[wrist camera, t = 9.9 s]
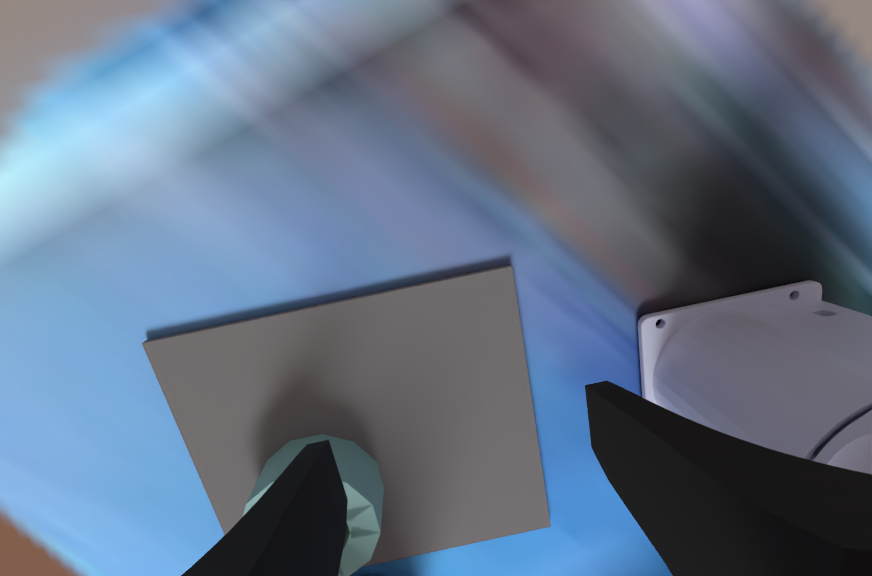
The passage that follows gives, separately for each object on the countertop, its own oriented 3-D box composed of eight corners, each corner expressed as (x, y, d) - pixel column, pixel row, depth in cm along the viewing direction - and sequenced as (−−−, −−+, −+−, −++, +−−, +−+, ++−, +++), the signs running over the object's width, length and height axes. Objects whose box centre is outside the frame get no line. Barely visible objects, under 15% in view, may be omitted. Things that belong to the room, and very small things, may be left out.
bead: (366, 424, 22) (360, 463, 19) (393, 520, 24) (391, 569, 21) (245, 450, 22) (221, 493, 19) (282, 544, 24) (264, 596, 21)
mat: (510, 264, 20) (512, 266, 20) (548, 520, 25) (550, 526, 25) (146, 340, 20) (141, 343, 20) (251, 584, 25) (249, 591, 24)
